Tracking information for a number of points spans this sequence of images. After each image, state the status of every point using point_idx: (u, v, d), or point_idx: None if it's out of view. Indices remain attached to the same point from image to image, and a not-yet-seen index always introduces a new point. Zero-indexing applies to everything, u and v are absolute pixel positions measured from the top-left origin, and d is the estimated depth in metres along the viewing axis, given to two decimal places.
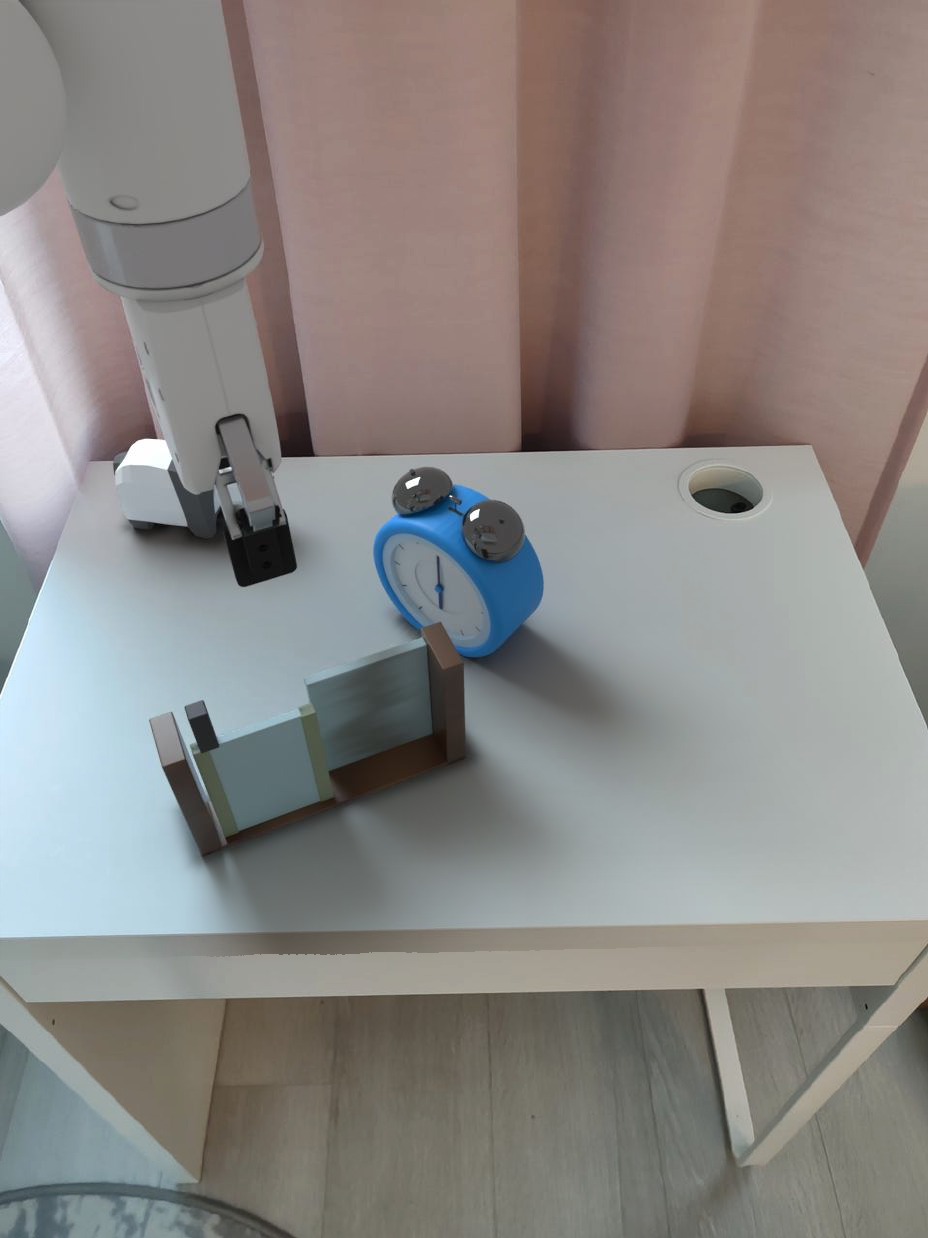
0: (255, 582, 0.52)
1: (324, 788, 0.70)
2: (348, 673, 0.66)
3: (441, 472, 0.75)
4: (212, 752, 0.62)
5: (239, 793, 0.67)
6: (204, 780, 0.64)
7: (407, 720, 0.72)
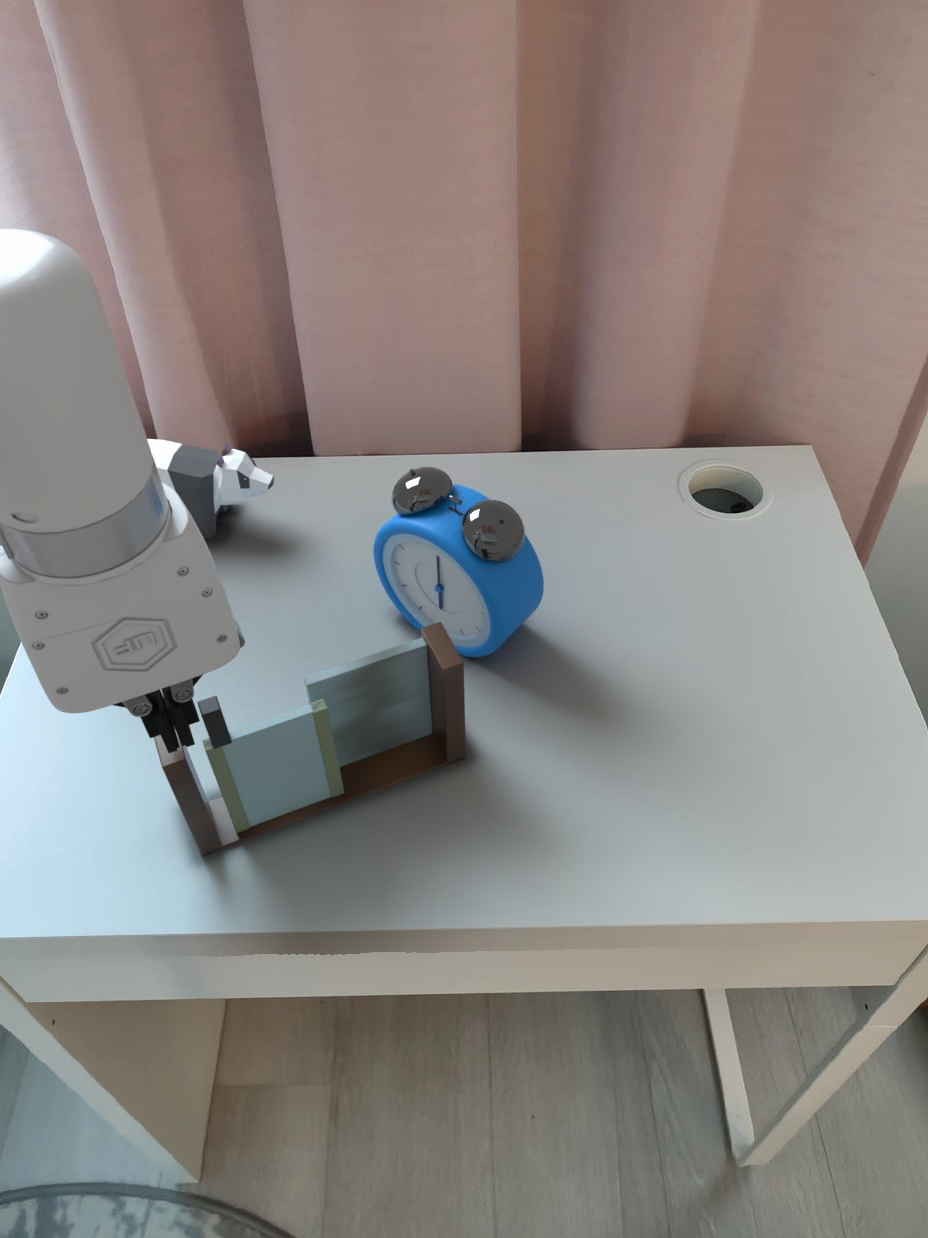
0: None
1: (335, 783, 0.70)
2: (348, 673, 0.66)
3: (441, 472, 0.75)
4: (224, 748, 0.63)
5: (250, 789, 0.67)
6: (216, 776, 0.64)
7: (407, 720, 0.72)
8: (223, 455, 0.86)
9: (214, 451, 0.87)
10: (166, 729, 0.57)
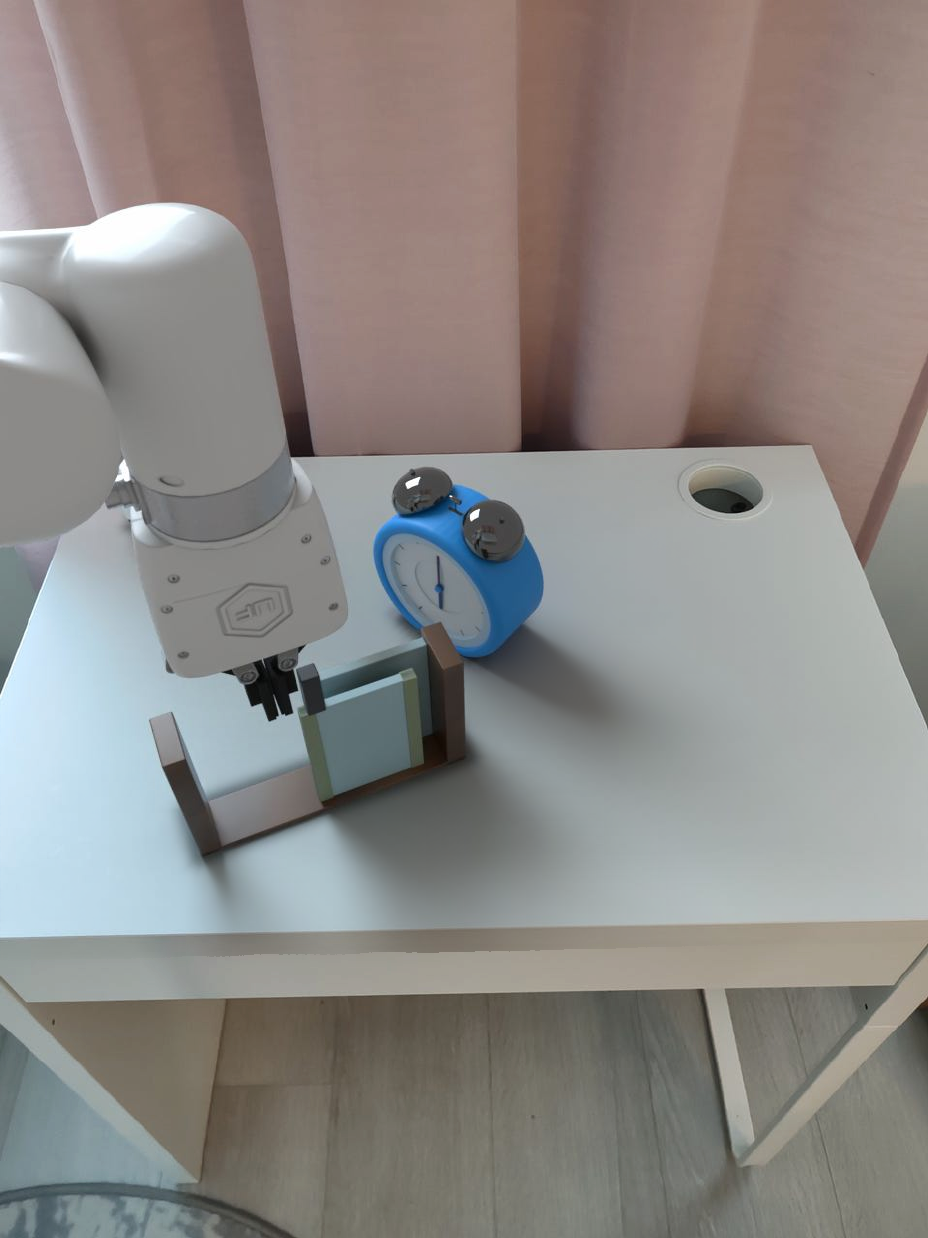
0: None
1: (416, 754, 0.72)
2: (348, 673, 0.66)
3: (441, 472, 0.75)
4: (318, 715, 0.64)
5: (338, 757, 0.68)
6: (308, 743, 0.66)
7: None
8: None
9: None
10: (269, 697, 0.59)
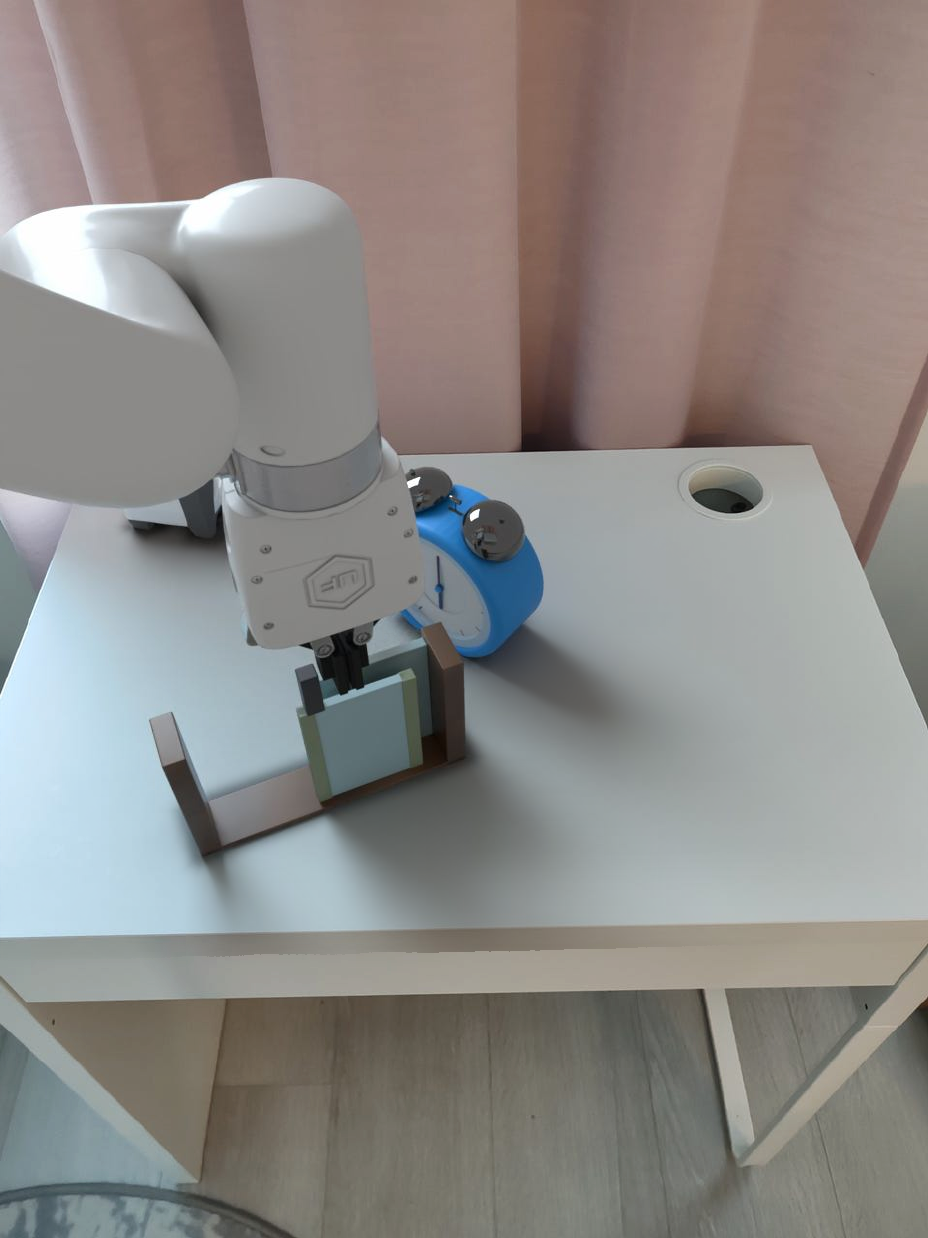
0: None
1: (415, 754, 0.72)
2: None
3: (441, 472, 0.75)
4: (317, 715, 0.64)
5: (337, 758, 0.68)
6: (307, 743, 0.66)
7: None
8: None
9: None
10: (343, 671, 0.60)
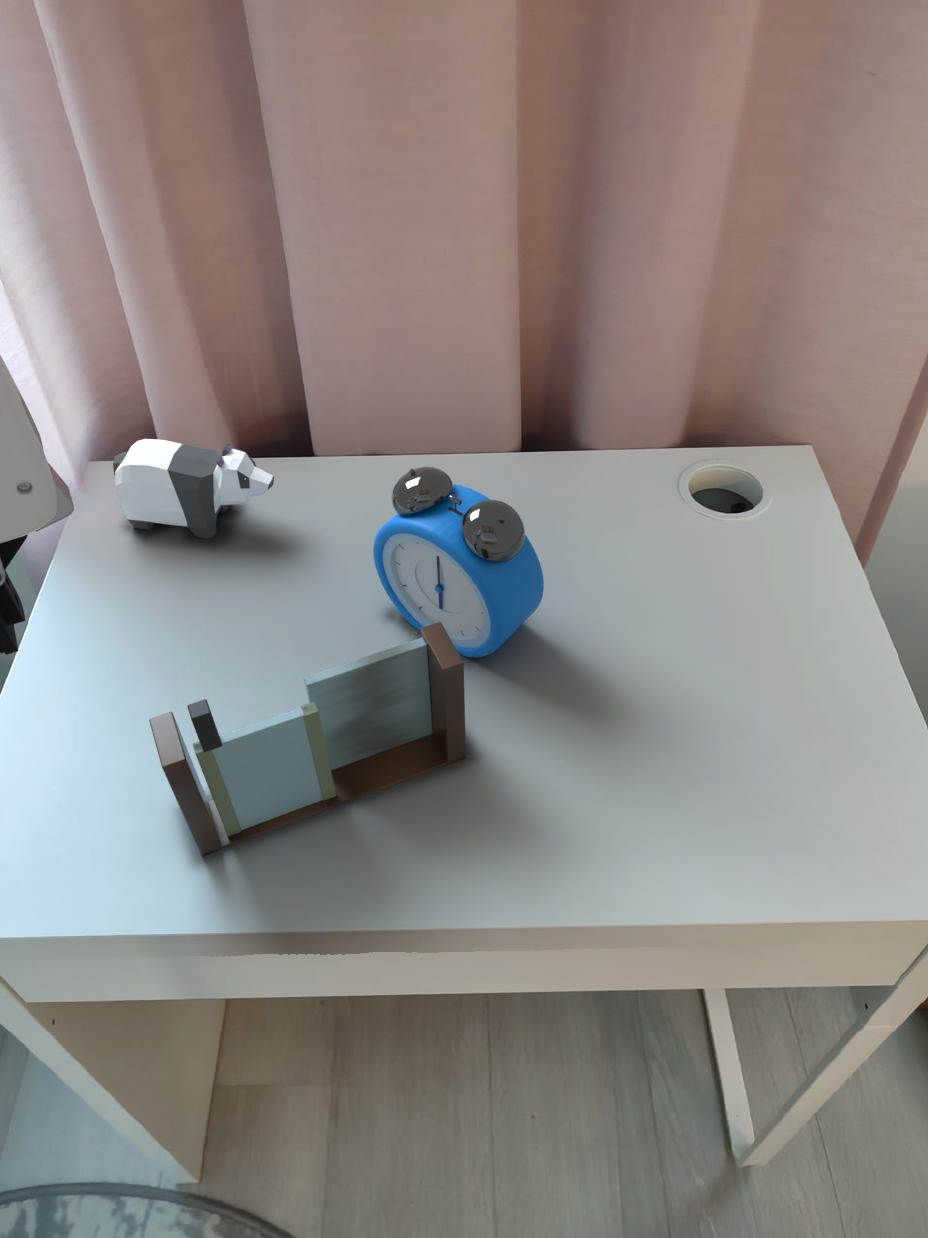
0: (16, 640, 0.45)
1: (326, 787, 0.70)
2: (348, 673, 0.66)
3: (441, 472, 0.75)
4: (215, 751, 0.62)
5: (241, 792, 0.67)
6: (207, 779, 0.64)
7: (407, 720, 0.72)
8: (223, 455, 0.86)
9: (214, 451, 0.87)
10: None
